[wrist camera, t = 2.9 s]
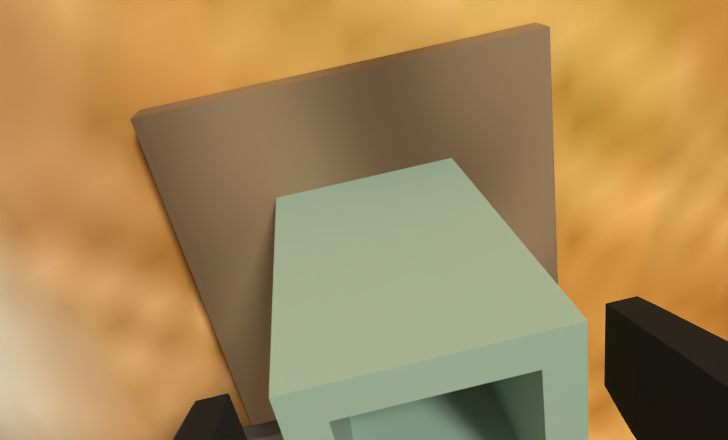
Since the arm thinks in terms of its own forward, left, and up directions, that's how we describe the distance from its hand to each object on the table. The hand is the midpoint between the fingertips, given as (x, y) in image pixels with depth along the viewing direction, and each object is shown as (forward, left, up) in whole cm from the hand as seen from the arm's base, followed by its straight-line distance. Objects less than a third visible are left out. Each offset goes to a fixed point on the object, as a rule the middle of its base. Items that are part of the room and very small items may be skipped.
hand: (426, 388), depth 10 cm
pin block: (0, 0, -6) cm, 6 cm away
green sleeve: (0, 0, -5) cm, 5 cm away
